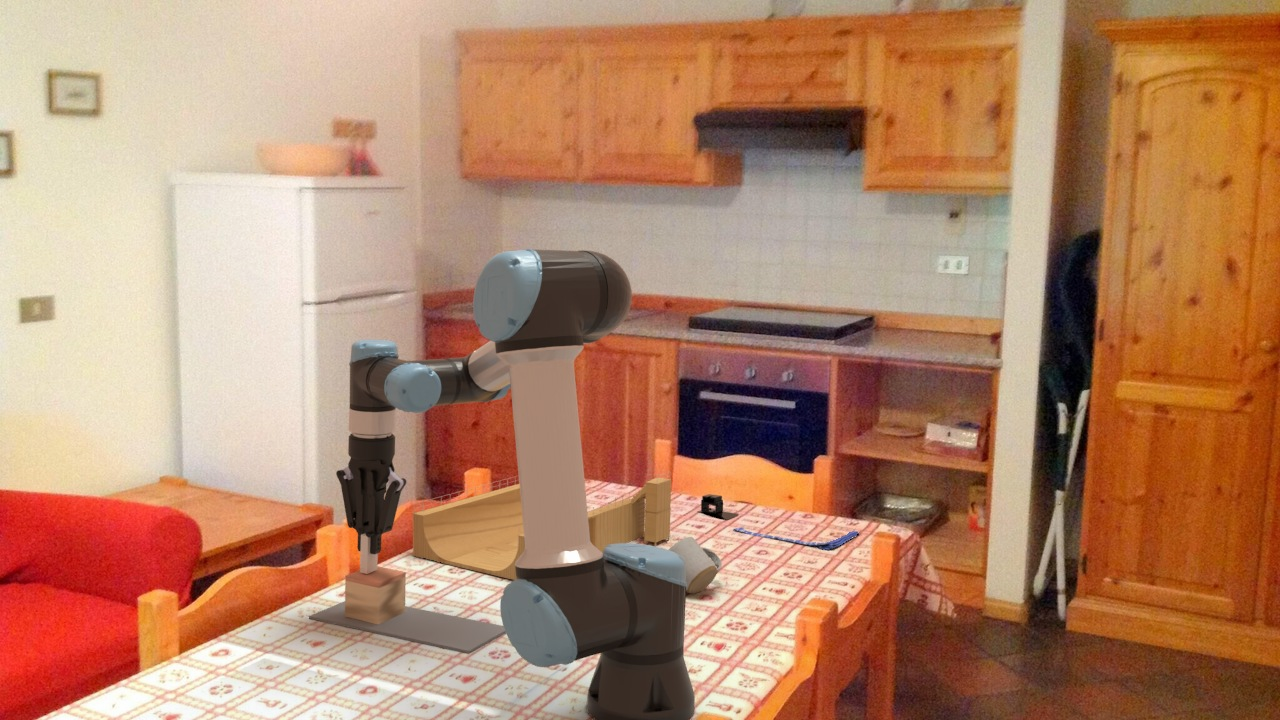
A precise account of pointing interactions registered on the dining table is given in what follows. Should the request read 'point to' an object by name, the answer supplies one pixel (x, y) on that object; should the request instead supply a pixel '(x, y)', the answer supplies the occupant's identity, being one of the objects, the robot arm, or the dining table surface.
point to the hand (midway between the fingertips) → (368, 570)
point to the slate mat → (422, 627)
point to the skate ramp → (495, 535)
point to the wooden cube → (375, 595)
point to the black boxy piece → (718, 503)
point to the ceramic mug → (697, 564)
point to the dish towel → (813, 544)
